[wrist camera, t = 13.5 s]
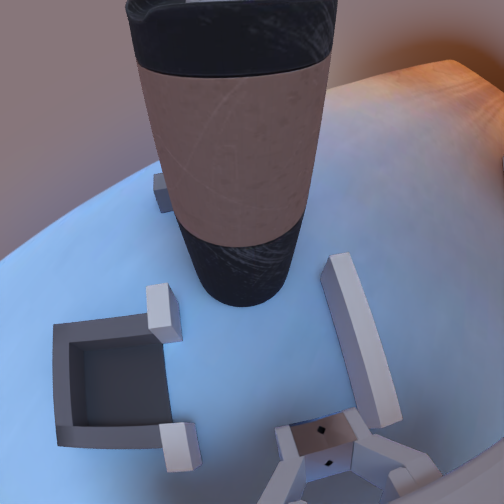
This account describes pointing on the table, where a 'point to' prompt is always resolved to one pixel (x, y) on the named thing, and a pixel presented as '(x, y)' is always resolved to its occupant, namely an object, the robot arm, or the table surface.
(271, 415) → the table surface
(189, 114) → the travel mug
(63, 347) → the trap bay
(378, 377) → the blocks
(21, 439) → the table surface
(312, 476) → the robot arm
